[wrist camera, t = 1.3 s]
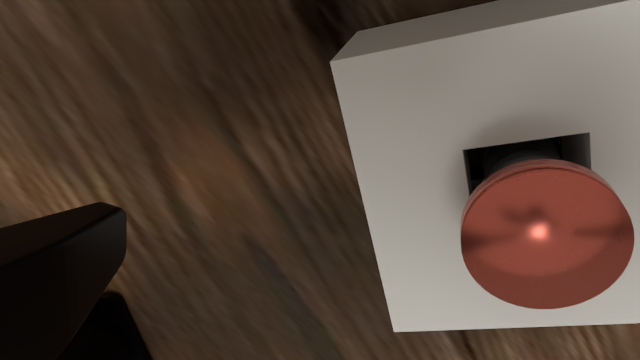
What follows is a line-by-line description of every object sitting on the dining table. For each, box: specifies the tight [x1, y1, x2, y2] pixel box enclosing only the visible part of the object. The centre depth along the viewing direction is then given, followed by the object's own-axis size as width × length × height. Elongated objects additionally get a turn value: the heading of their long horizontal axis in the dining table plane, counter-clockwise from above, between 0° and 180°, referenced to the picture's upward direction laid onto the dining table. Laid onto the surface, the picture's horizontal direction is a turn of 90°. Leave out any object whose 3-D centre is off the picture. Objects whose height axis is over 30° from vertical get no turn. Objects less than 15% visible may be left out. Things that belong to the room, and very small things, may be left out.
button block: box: [330, 0, 640, 332], centre depth 17 cm, size 10×10×5 cm
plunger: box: [460, 138, 634, 309], centre depth 15 cm, size 4×4×5 cm
